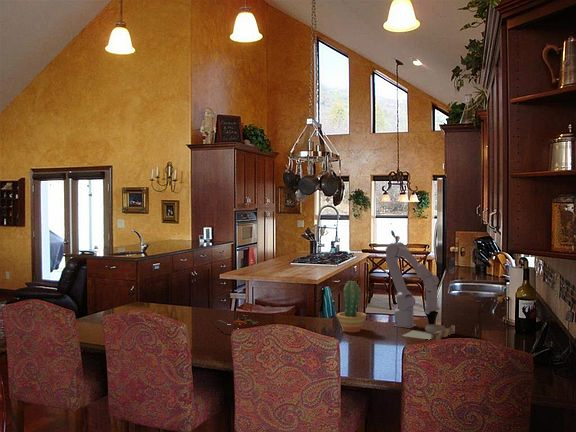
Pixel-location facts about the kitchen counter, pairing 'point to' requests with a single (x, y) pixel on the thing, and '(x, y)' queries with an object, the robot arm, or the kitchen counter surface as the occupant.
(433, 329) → the donut
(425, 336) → the mat
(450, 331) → the gate
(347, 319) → the potted cactus
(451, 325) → the gate post
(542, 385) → the kitchen counter surface
